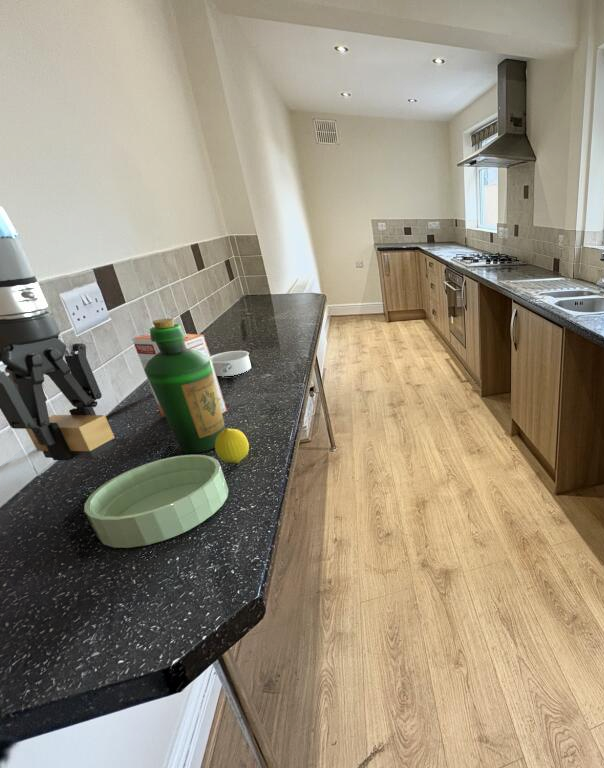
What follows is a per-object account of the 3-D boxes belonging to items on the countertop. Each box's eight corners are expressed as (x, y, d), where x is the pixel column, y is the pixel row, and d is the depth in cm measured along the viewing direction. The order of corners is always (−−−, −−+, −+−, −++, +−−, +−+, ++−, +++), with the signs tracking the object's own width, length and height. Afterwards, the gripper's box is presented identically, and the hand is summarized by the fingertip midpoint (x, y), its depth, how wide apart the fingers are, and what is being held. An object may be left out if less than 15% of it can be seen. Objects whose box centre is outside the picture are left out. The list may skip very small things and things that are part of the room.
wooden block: (41, 458, 67) (24, 427, 65) (68, 444, 71) (53, 414, 69) (93, 459, 67) (78, 427, 65) (118, 445, 71) (105, 414, 69)
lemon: (248, 452, 87) (239, 419, 84) (256, 463, 84) (246, 428, 81) (218, 462, 84) (207, 428, 81) (224, 474, 80) (213, 438, 77)
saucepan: (206, 391, 117) (200, 373, 115) (213, 370, 134) (208, 354, 131) (252, 384, 123) (247, 366, 120) (253, 364, 139) (249, 348, 137)
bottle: (234, 447, 89) (195, 322, 78) (173, 463, 84) (122, 330, 73) (232, 428, 97) (197, 312, 87) (176, 441, 92) (131, 318, 81)
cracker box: (160, 418, 102) (129, 337, 94) (181, 407, 108) (154, 330, 100) (209, 422, 100) (181, 340, 92) (228, 411, 106) (204, 333, 97)
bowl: (67, 549, 62) (50, 518, 60) (161, 480, 78) (150, 453, 76) (178, 552, 62) (165, 520, 59) (250, 482, 78) (242, 455, 75)
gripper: (-38, 330, 52) (44, 482, 61) (96, 302, 68) (145, 426, 77) (-94, 330, 52) (-4, 481, 61) (52, 302, 68) (107, 425, 77)
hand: (79, 450), depth 69 cm, fingers closed on wooden block, 4 cm apart
